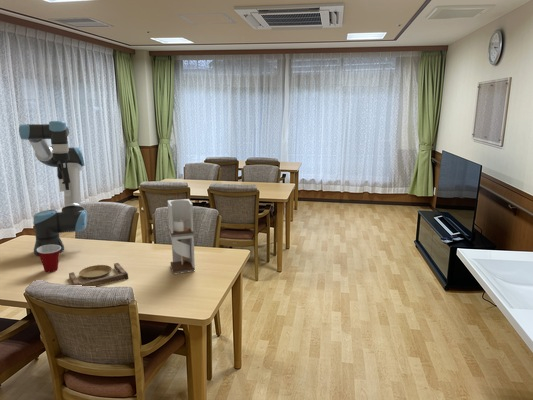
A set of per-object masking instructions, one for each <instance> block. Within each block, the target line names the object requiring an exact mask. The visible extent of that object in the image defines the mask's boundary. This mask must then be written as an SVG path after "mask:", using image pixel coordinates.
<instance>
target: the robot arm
mask: <svg viewBox="0 0 533 400" xmlns="http://www.w3.org/2000/svg"><path fill="white" fill-rule="evenodd" d="M18 133H19V134H18V135H19V138H20V139H21V140H26V141H28V142H29V143H30V145H31V147H32V149H33V150H34V156H35V158H36V159H37V160H38V161H39V163H42V164H44V165H46V166H49V167H51V168H57V172H56V173H57V175H56V177H57V178H58V186H59V192H62V193H63V196H64V197H63V200H64V206H63V207H61V211H60V212H59V211H57V210H56V209H47V210H42V211H39V212H37V213H35V214H34V216H32V219H33V220H32V221H33V223H32V224H33V228H34V229H33V230H34V236H35V241H34V242H35V244H34V247H33V254H34V255H35V256H38V257H40V256H39V254H38V252H37V250H36V249H37V248H38V247H40V246H44V245H59V246H61V249H60V253H62V252H64V251H65V244H64V243H63V240H62V239H61V237H60V234H62V233H73V232H82V231H85V229H86V227H87V224H88V223H87V222H88V211H87V210H86V209H85V208H84V206H82V202H81V201H82V200H81V199H82V198H81V197H82V196H81V176H80V171H82V170H83V167H85V166H86V165H85V160H84V156H83V152H82V151H83V150H82V149H81V148H80V147H75V146H72V147H69V142H68V141H69V140H68V137H69V135H70V129H69V127H68V126H67V123H66V121H65V120H64V121H63V120H50V121H48V123H44V124H43V123H42V124H40V123H38V124H37V123H36V124H35V123H32V124H31V123H26V124H20V125H19V126H18ZM47 140H50V144H51V145H50V146H49V144H48V142H47Z"/></svg>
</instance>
